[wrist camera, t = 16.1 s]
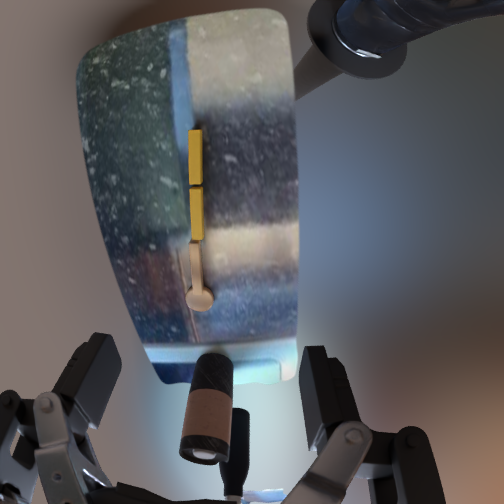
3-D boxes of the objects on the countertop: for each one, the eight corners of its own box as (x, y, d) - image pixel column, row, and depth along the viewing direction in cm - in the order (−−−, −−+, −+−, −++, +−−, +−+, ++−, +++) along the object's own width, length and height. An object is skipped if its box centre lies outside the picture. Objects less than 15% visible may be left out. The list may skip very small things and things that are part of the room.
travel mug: (194, 350, 48) (174, 445, 30) (235, 353, 48) (229, 451, 30) (196, 375, 51) (181, 462, 33) (234, 378, 51) (229, 467, 33)
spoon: (180, 238, 39) (178, 243, 37) (211, 239, 39) (209, 243, 37) (188, 307, 44) (186, 313, 42) (214, 308, 44) (213, 314, 42)
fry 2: (191, 186, 35) (189, 189, 34) (202, 186, 35) (200, 188, 34) (194, 235, 38) (192, 239, 37) (204, 235, 38) (202, 239, 37)
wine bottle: (224, 405, 56) (217, 525, 29) (252, 409, 56) (252, 527, 29) (221, 418, 59) (213, 527, 31) (246, 421, 59) (245, 529, 32)
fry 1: (190, 130, 32) (188, 130, 31) (202, 129, 32) (200, 129, 31) (191, 182, 35) (189, 184, 34) (202, 182, 35) (200, 184, 34)
